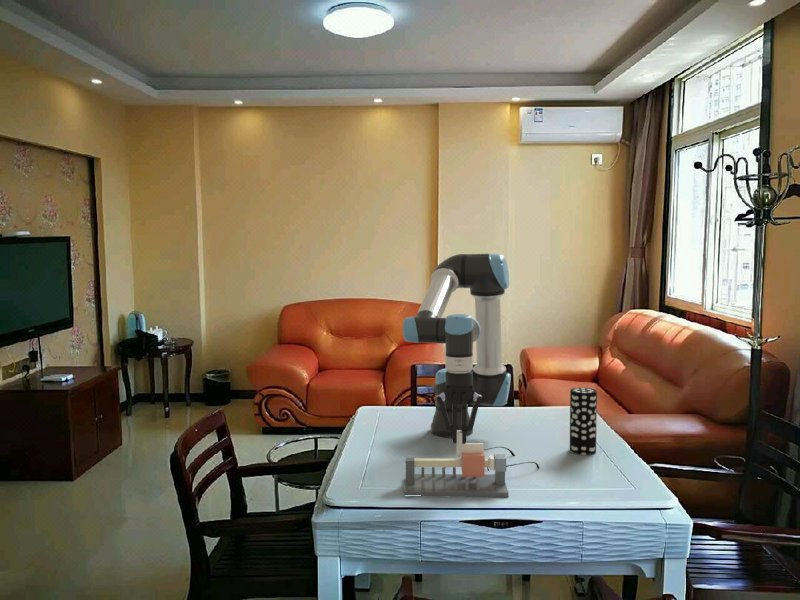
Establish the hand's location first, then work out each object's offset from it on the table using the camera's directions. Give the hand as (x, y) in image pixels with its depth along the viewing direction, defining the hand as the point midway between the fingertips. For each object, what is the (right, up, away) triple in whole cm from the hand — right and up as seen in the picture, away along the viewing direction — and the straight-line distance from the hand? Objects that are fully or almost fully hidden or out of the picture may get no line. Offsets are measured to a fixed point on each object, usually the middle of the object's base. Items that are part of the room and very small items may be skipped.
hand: (459, 454), depth 185 cm
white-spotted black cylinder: (+43, -6, +32) cm, 54 cm away
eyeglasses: (+16, -8, +19) cm, 26 cm away
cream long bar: (-1, -4, 0) cm, 4 cm away
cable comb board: (-1, -9, +1) cm, 9 cm away
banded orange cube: (+4, -5, 0) cm, 7 cm away
